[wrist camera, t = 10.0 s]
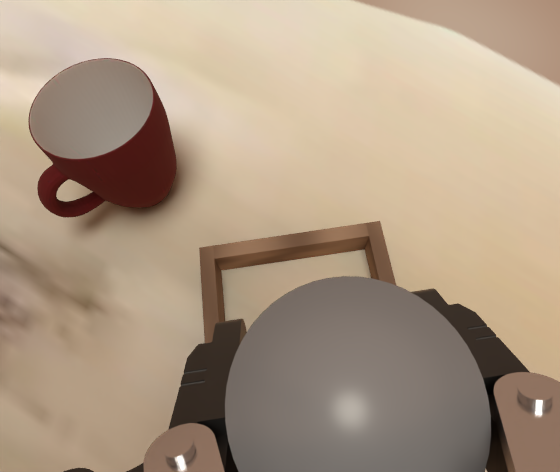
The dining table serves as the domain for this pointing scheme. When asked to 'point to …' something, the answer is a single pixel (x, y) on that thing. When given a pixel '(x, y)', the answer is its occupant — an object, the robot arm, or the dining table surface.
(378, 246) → the divider rack
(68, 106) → the mug
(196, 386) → the robot arm
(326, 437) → the grey dome-topped cylinder
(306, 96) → the dining table surface
